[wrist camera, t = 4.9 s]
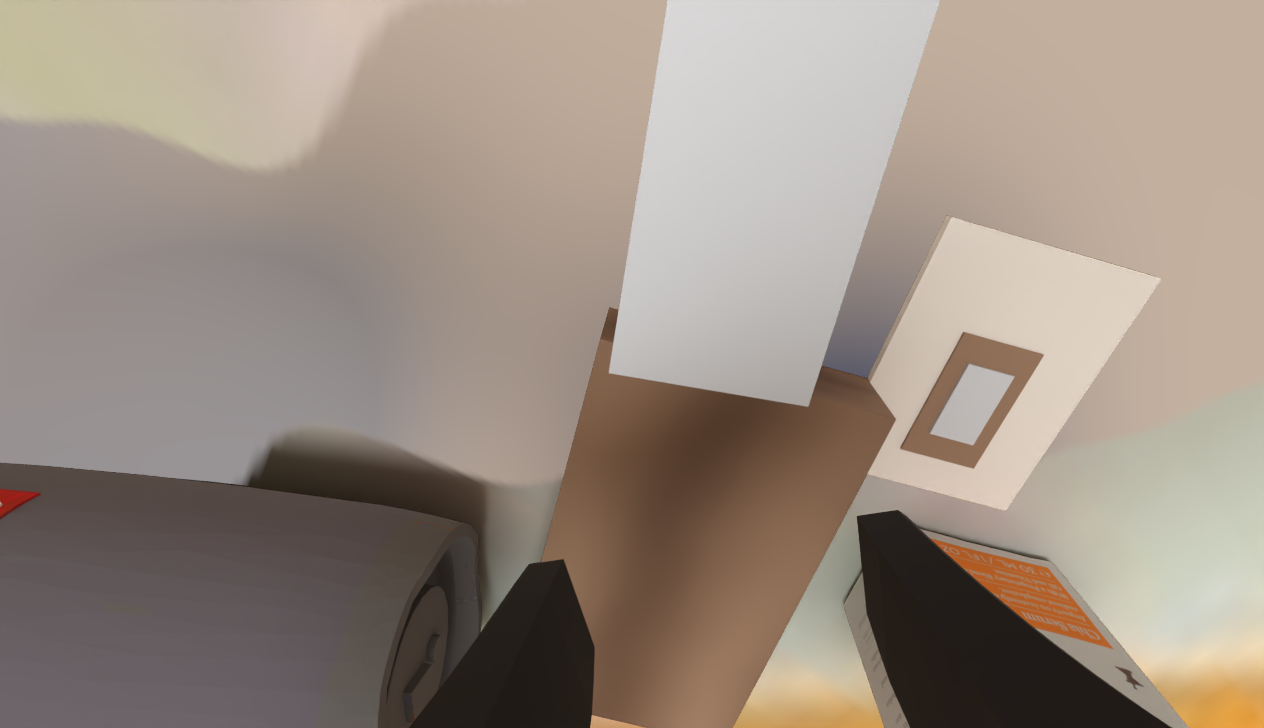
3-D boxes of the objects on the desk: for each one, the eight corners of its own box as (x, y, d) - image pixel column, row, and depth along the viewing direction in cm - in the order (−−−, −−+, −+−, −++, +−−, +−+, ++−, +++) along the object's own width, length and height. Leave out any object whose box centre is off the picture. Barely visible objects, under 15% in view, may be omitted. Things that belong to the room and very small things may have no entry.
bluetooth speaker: (490, 429, 19) (330, 724, 10) (497, 633, 23) (386, 979, 14) (-177, 370, 20) (-895, 599, 11) (-62, 579, 24) (-517, 878, 15)
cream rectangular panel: (1153, 275, 16) (1167, 281, 15) (1001, 504, 19) (1009, 515, 19) (946, 215, 16) (954, 218, 15) (827, 458, 19) (831, 468, 18)
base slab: (867, 378, 18) (896, 419, 15) (717, 682, 23) (723, 745, 21) (609, 307, 17) (600, 339, 15) (521, 635, 23) (505, 694, 21)
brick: (848, -11, 14) (967, -84, 8) (763, 308, 17) (808, 406, 12) (680, -42, 14) (688, -135, 8) (627, 285, 17) (608, 373, 12)
